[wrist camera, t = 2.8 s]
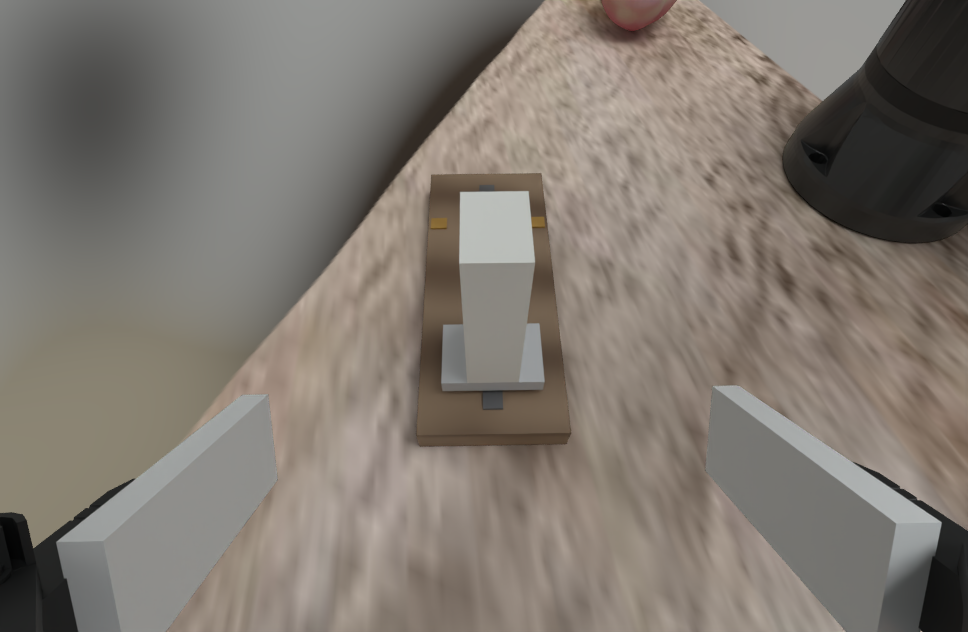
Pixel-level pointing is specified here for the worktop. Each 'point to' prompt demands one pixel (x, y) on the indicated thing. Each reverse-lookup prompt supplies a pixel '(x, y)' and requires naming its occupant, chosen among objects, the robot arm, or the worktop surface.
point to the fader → (494, 298)
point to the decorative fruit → (636, 12)
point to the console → (462, 411)
